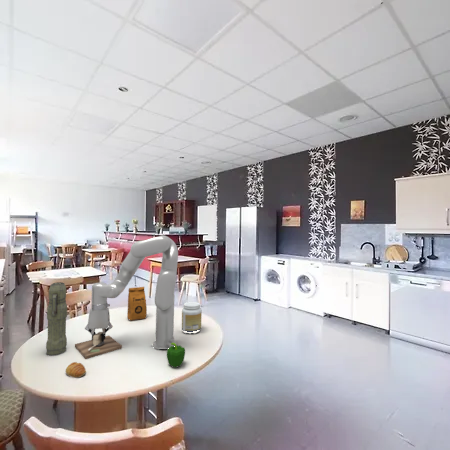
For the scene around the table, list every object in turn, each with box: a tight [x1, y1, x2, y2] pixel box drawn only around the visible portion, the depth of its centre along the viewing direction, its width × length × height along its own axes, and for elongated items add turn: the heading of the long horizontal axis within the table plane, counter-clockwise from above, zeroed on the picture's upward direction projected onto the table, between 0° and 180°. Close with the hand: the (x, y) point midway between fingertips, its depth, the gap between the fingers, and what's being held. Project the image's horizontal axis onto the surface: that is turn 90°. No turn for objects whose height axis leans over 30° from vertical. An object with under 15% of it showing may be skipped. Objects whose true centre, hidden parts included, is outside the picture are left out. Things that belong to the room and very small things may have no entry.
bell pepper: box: [166, 343, 186, 368], centre depth 132 cm, size 8×8×10 cm
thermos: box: [45, 282, 68, 357], centre depth 142 cm, size 9×12×35 cm
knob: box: [88, 331, 104, 351], centre depth 145 cm, size 12×6×6 cm, turn 173°
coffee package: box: [126, 286, 148, 321], centre depth 194 cm, size 10×12×22 cm
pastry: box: [65, 361, 87, 379], centre depth 122 cm, size 9×7×4 cm
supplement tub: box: [181, 301, 202, 332], centre depth 174 cm, size 12×12×17 cm
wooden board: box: [74, 335, 123, 360], centre depth 148 cm, size 18×18×2 cm
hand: (98, 340), depth 148 cm, fingers closed on knob, 3 cm apart
